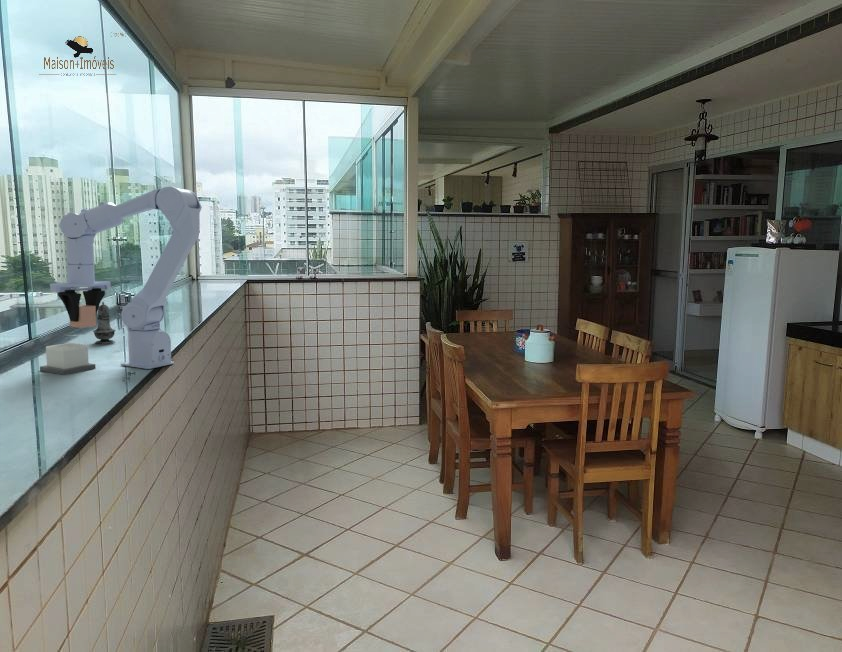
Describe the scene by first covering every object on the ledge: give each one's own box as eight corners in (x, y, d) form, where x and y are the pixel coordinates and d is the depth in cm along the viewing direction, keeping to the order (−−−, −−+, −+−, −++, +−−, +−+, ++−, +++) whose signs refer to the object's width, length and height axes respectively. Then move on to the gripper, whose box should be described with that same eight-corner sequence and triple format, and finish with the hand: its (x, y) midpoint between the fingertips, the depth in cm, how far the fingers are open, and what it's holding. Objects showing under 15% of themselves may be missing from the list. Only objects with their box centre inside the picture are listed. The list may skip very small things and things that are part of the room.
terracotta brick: (96, 326, 150) (95, 305, 150) (81, 327, 147) (80, 307, 146) (85, 324, 152) (84, 304, 151) (70, 326, 149) (69, 305, 148)
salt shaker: (120, 341, 181) (118, 301, 179) (108, 344, 175) (106, 303, 173) (101, 340, 181) (99, 300, 180) (88, 344, 175) (86, 302, 174)
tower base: (95, 368, 144) (94, 344, 143) (63, 374, 137) (62, 350, 136) (72, 364, 147) (71, 341, 147) (40, 370, 140) (38, 346, 139)
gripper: (96, 263, 156) (98, 316, 157) (40, 264, 143) (43, 321, 144) (115, 264, 153) (117, 318, 155) (60, 265, 140) (63, 324, 141)
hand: (83, 320), depth 149 cm, fingers closed on terracotta brick, 4 cm apart
